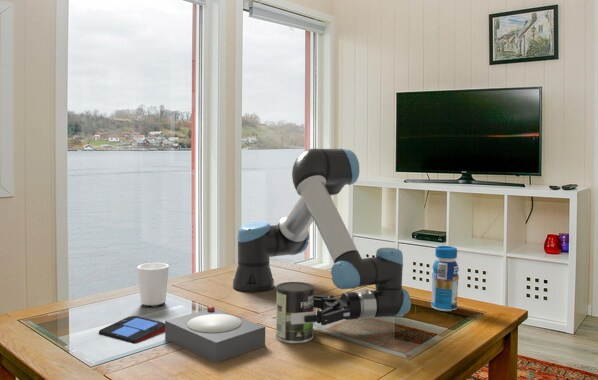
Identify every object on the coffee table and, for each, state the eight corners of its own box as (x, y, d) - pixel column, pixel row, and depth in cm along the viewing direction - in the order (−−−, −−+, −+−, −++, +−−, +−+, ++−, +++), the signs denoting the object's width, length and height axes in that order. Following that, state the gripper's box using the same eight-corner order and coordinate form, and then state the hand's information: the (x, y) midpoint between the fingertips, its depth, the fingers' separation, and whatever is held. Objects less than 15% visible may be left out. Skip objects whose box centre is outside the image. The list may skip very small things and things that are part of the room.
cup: (139, 310, 163) (139, 270, 162) (135, 301, 172) (135, 263, 171) (171, 307, 167) (171, 267, 166) (166, 298, 176) (166, 261, 175)
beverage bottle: (425, 305, 174) (427, 245, 172) (447, 303, 177) (450, 244, 175) (440, 312, 166) (442, 250, 164) (462, 310, 169) (465, 249, 167)
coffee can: (320, 335, 145) (321, 285, 144) (300, 346, 136) (301, 293, 135) (289, 327, 150) (289, 279, 149) (268, 338, 141) (268, 287, 140)
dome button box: (165, 338, 140) (165, 316, 139) (213, 324, 151) (213, 304, 151) (216, 363, 125) (216, 338, 124) (265, 345, 136) (265, 322, 136)
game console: (97, 335, 143) (96, 327, 143) (132, 321, 154) (132, 314, 154) (135, 345, 136) (135, 337, 136) (169, 330, 147) (169, 323, 147)
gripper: (341, 281, 159) (273, 285, 153) (376, 305, 135) (297, 311, 129) (340, 305, 160) (273, 310, 154) (375, 333, 136) (297, 340, 130)
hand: (284, 310), depth 142 cm, fingers open, 13 cm apart
